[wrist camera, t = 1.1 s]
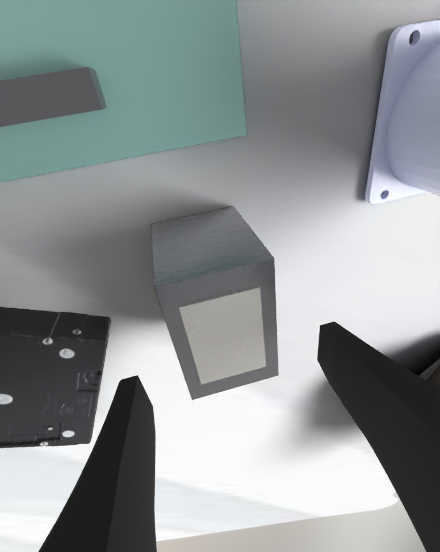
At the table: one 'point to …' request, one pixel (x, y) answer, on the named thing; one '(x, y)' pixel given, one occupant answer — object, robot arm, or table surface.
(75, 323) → the disk drive
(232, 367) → the dark grey block
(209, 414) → the table surface
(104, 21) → the teal peg board
